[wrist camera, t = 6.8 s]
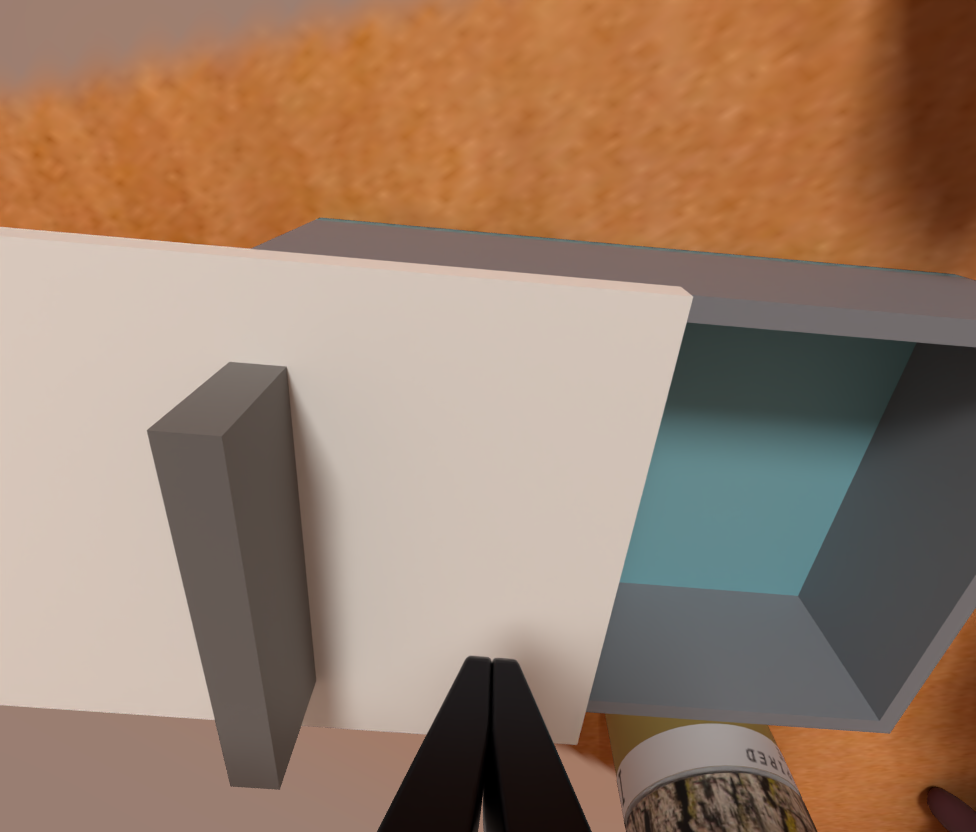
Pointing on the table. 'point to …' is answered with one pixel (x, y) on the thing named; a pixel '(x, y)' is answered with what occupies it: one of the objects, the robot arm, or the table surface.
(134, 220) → the table surface
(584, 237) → the table surface
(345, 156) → the table surface
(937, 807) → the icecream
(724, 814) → the paper tube
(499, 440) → the lid
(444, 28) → the table surface
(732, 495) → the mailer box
